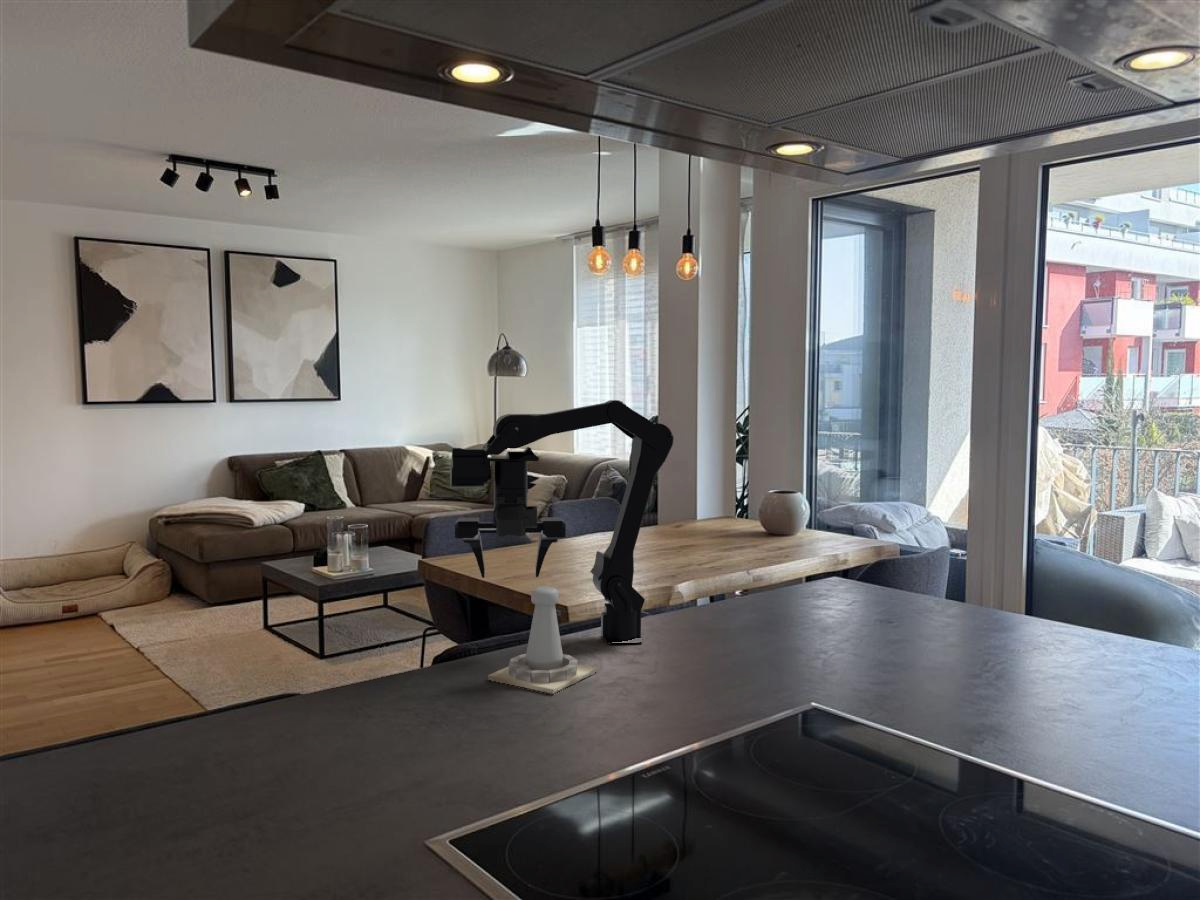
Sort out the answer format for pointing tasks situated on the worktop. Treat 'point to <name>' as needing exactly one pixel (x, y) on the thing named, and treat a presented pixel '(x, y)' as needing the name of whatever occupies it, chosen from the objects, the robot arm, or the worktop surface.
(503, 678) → the ring stand
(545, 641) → the salt shaker
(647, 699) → the worktop surface
